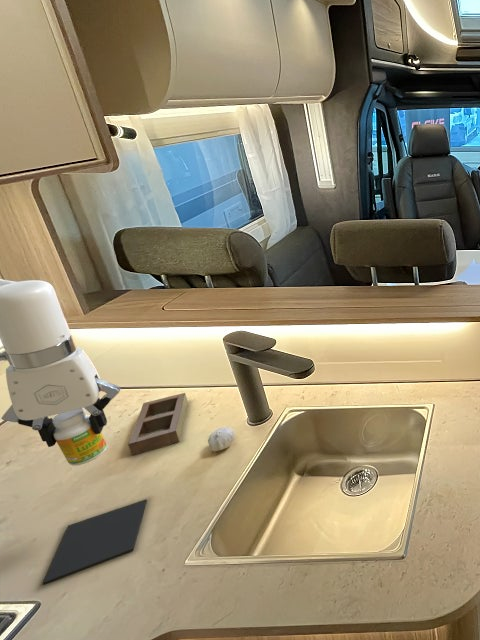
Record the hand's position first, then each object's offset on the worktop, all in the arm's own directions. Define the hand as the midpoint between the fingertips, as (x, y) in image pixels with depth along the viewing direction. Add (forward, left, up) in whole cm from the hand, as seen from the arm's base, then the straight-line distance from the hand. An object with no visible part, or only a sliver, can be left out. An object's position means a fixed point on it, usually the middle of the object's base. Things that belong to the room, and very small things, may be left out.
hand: (77, 434), depth 76 cm
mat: (-1, -5, -21) cm, 22 cm away
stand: (+4, +26, -21) cm, 34 cm away
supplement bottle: (0, 0, -5) cm, 5 cm away
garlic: (+18, +11, -21) cm, 30 cm away
